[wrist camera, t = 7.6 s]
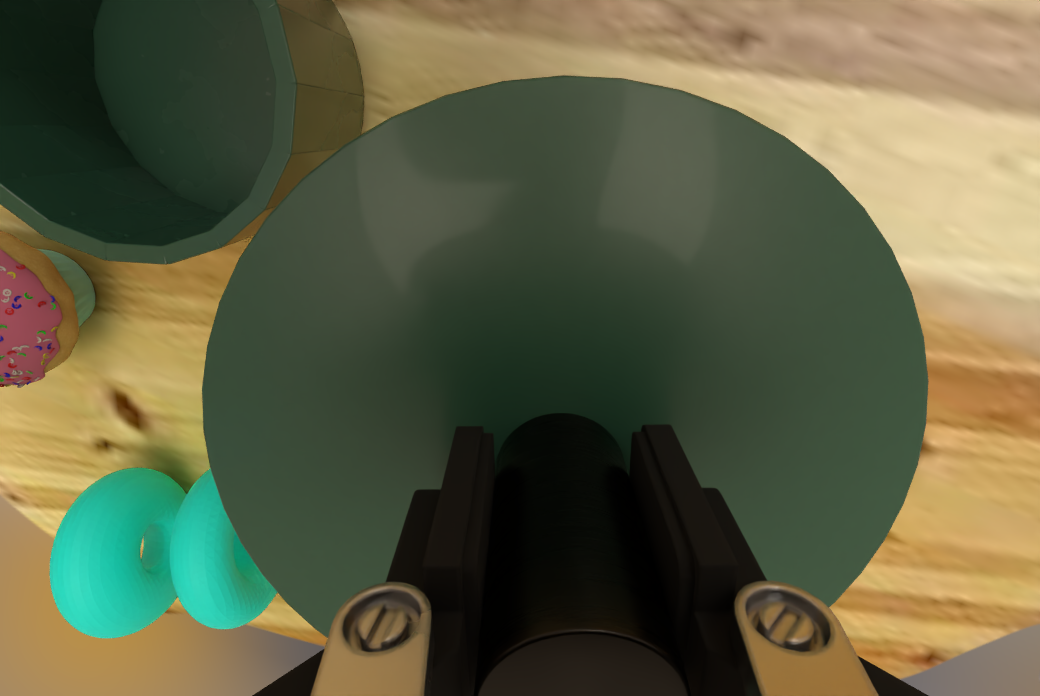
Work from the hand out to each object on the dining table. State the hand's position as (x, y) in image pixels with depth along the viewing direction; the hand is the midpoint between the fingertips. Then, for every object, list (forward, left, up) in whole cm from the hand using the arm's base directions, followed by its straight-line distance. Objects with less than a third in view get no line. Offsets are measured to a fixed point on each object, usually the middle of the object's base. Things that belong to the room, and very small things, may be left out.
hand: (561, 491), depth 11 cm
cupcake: (+1, -30, -23) cm, 38 cm away
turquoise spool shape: (+17, -23, -23) cm, 36 cm away
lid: (0, 0, -1) cm, 1 cm away
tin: (-9, -17, -23) cm, 30 cm away
